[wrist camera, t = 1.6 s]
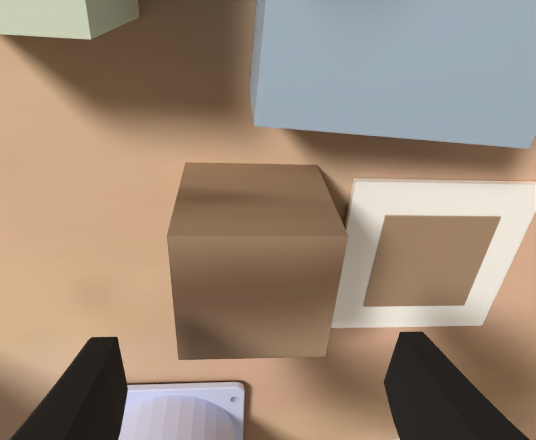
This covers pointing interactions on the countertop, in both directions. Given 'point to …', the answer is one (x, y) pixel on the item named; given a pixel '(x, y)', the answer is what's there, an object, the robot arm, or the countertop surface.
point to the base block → (398, 69)
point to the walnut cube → (254, 261)
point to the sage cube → (65, 17)
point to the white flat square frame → (429, 250)
